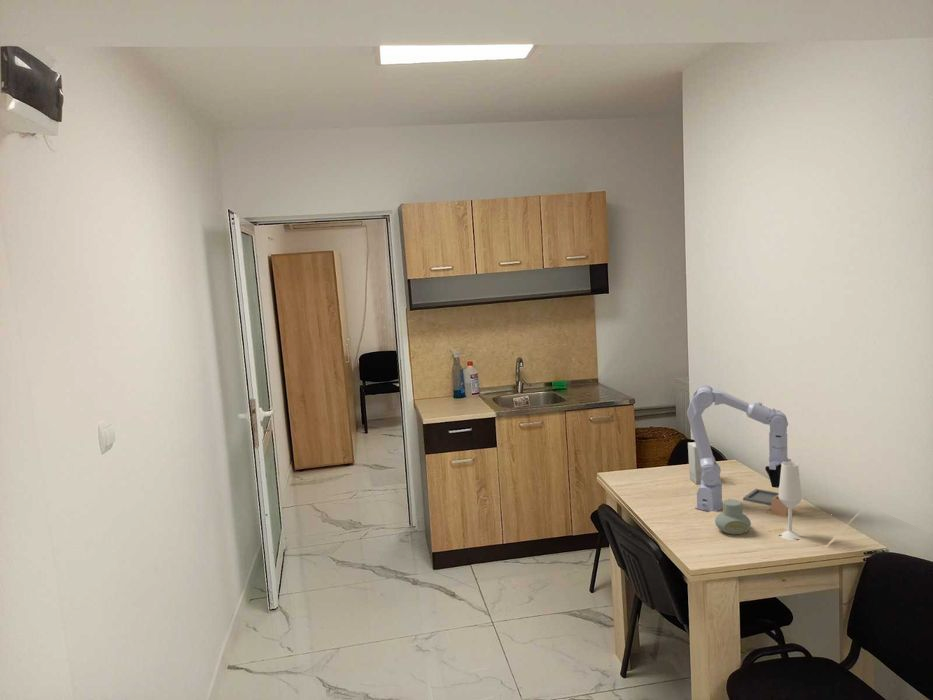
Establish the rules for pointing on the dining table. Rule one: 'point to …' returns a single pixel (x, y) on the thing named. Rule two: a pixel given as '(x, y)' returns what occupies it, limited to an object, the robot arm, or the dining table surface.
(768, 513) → the stand
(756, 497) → the tray
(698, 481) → the skincare box
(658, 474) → the dining table surface
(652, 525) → the dining table surface
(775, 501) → the brown cube box
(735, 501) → the air freshener
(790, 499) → the champagne flute
